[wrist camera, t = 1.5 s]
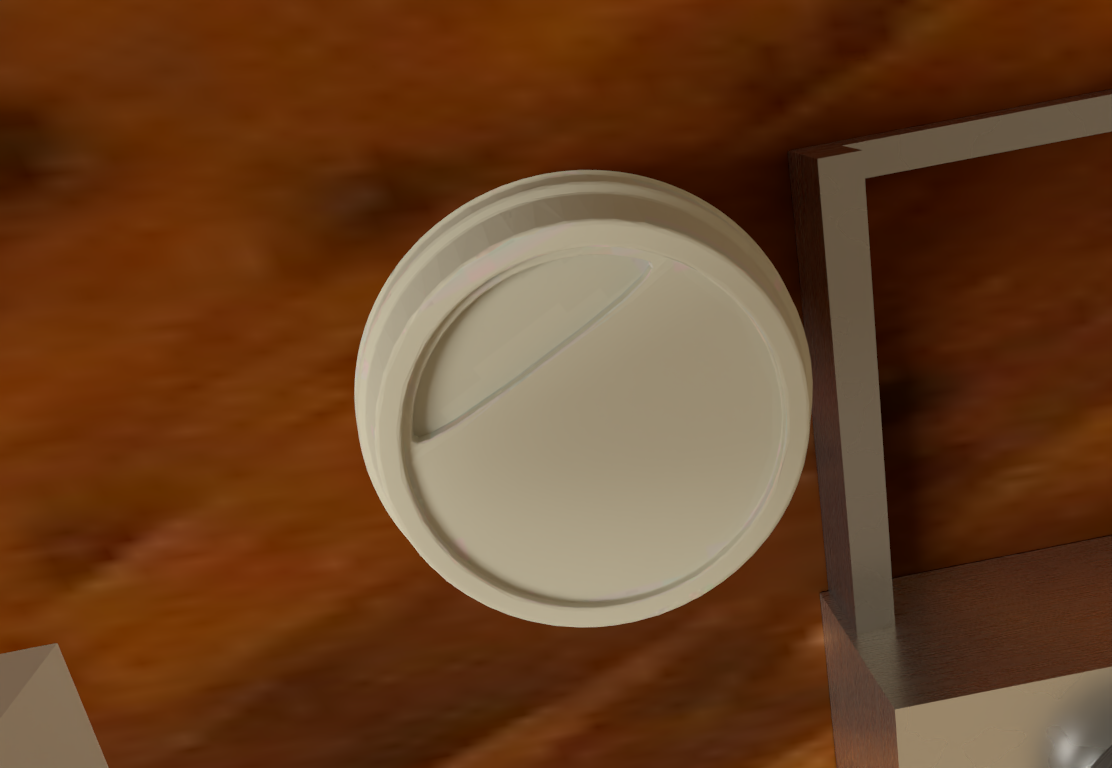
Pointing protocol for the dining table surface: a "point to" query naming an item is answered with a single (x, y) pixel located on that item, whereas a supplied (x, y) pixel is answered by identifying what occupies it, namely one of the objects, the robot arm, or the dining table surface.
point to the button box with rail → (862, 519)
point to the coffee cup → (584, 397)
